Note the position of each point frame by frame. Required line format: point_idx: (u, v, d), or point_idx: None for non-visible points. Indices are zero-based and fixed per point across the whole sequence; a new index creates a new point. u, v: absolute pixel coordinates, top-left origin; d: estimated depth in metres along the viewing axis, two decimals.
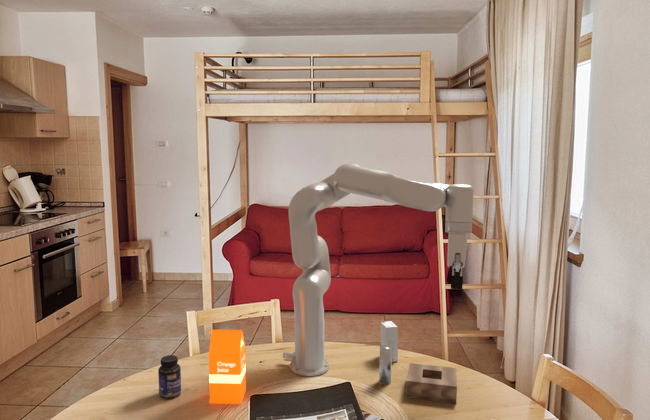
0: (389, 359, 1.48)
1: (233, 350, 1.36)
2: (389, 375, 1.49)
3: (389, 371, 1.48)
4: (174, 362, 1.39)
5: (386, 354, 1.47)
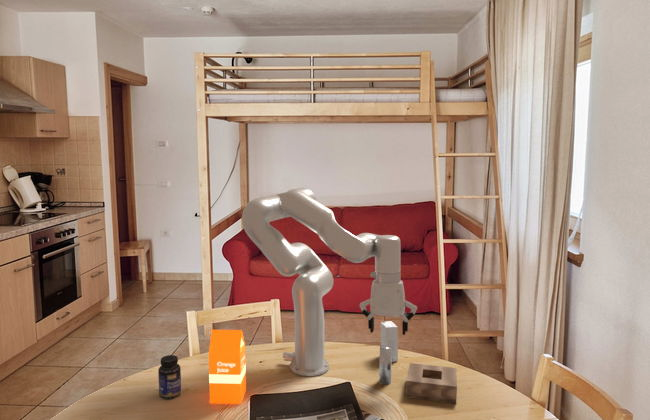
0: (389, 359, 1.48)
1: (233, 350, 1.36)
2: (389, 375, 1.49)
3: (389, 371, 1.48)
4: (174, 362, 1.39)
5: (386, 354, 1.47)
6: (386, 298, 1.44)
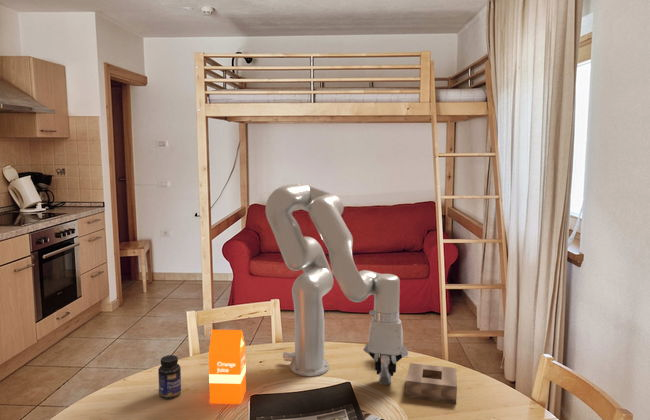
0: (389, 359, 1.48)
1: (233, 350, 1.36)
2: (389, 375, 1.49)
3: (389, 371, 1.48)
4: (174, 362, 1.39)
5: None
6: (384, 337, 1.46)
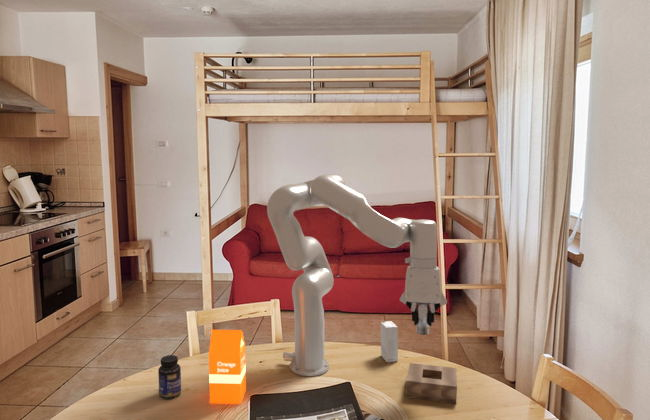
0: (427, 308, 1.42)
1: (233, 350, 1.36)
2: (427, 325, 1.42)
3: (427, 321, 1.42)
4: (174, 362, 1.39)
5: None
6: (422, 284, 1.40)
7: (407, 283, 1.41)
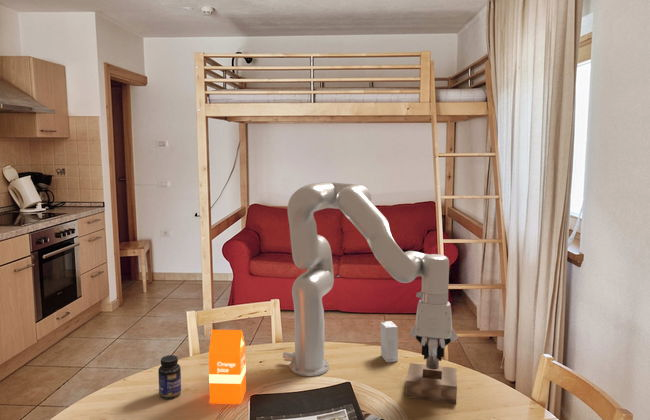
0: (437, 343, 1.42)
1: (233, 350, 1.36)
2: (437, 360, 1.42)
3: (437, 355, 1.42)
4: (174, 362, 1.39)
5: None
6: (433, 320, 1.40)
7: (418, 318, 1.41)
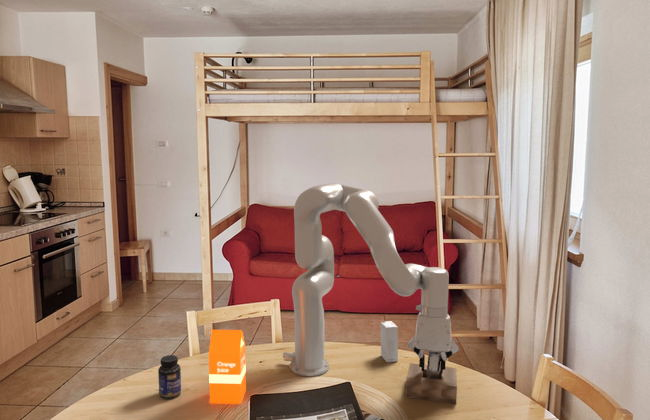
0: (438, 364, 1.42)
1: (233, 350, 1.36)
2: None
3: (437, 376, 1.43)
4: (174, 362, 1.39)
5: (435, 358, 1.42)
6: (432, 333, 1.40)
7: (417, 331, 1.41)
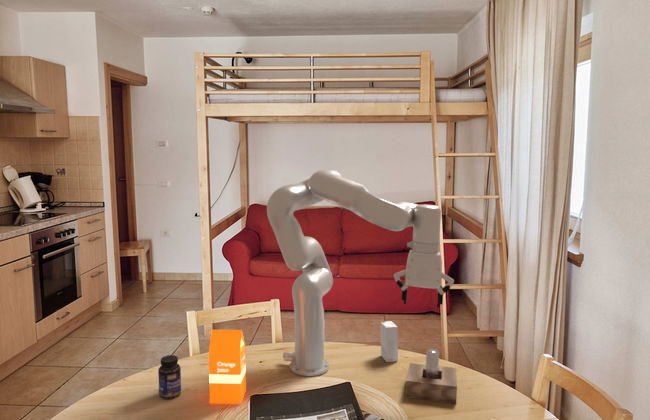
0: (436, 364, 1.43)
1: (233, 350, 1.36)
2: None
3: (436, 376, 1.43)
4: (174, 362, 1.39)
5: (433, 358, 1.42)
6: (423, 269, 1.40)
7: (408, 267, 1.41)
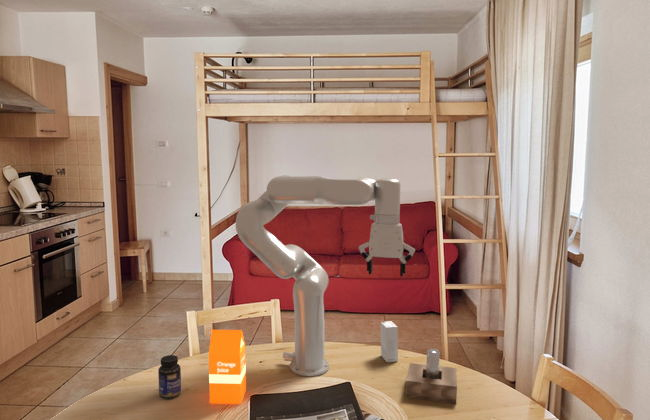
0: (437, 364, 1.42)
1: (233, 350, 1.36)
2: None
3: (437, 376, 1.43)
4: (174, 362, 1.39)
5: (434, 358, 1.42)
6: (385, 239, 1.47)
7: (371, 238, 1.49)
